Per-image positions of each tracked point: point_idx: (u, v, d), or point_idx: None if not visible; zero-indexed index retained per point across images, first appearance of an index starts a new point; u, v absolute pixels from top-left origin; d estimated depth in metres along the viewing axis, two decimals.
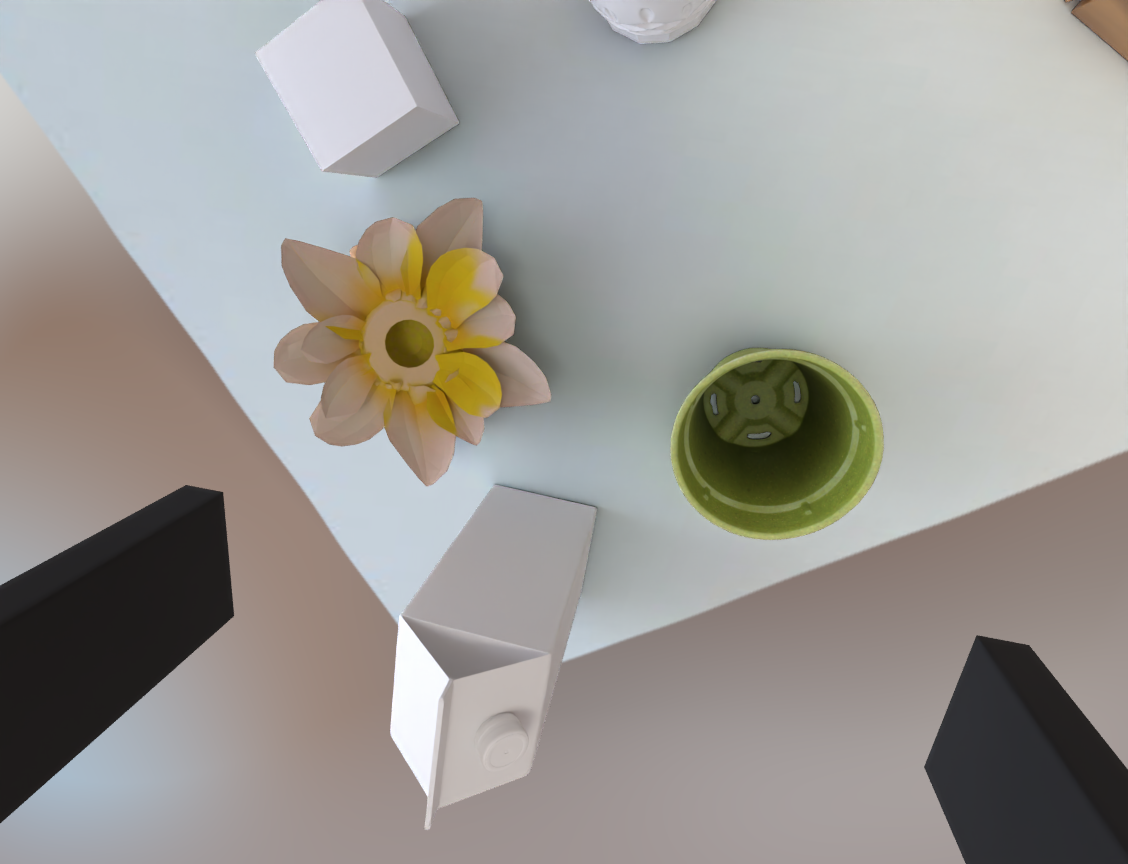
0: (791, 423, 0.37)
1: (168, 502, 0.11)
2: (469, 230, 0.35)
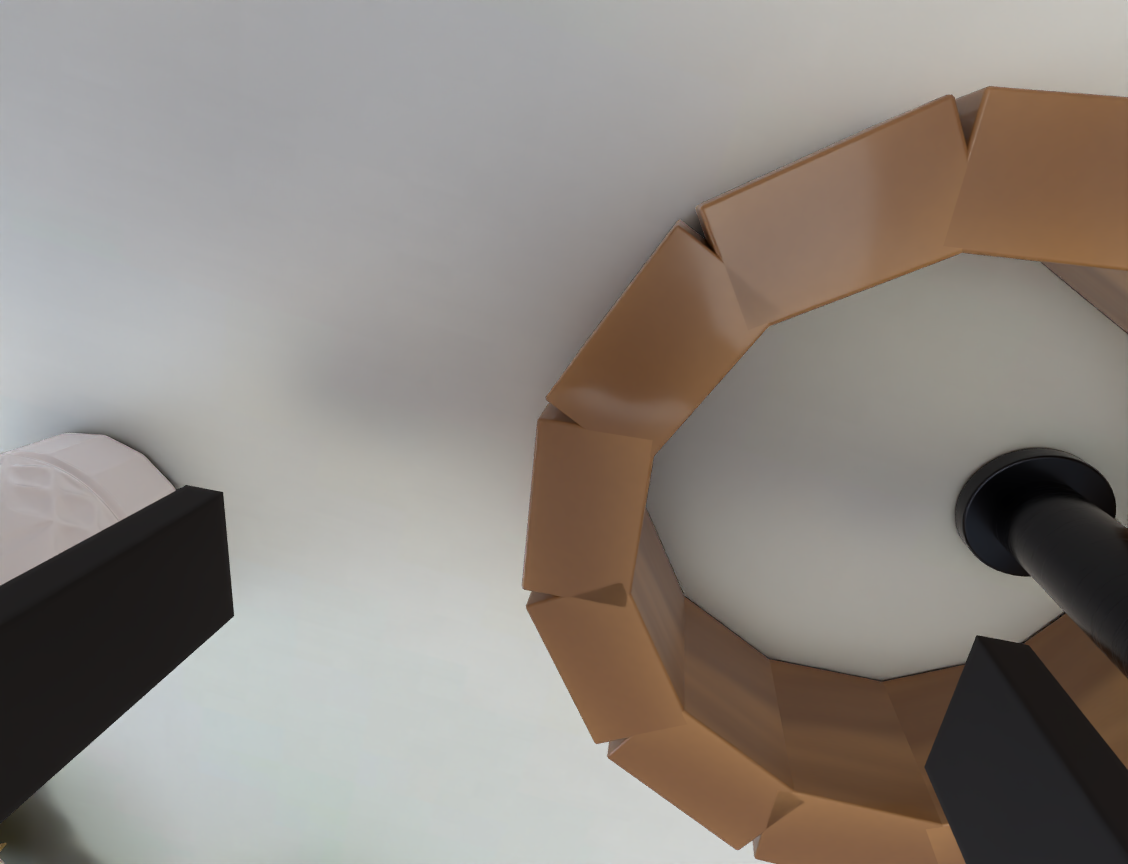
0: None
1: (167, 503, 0.11)
2: None
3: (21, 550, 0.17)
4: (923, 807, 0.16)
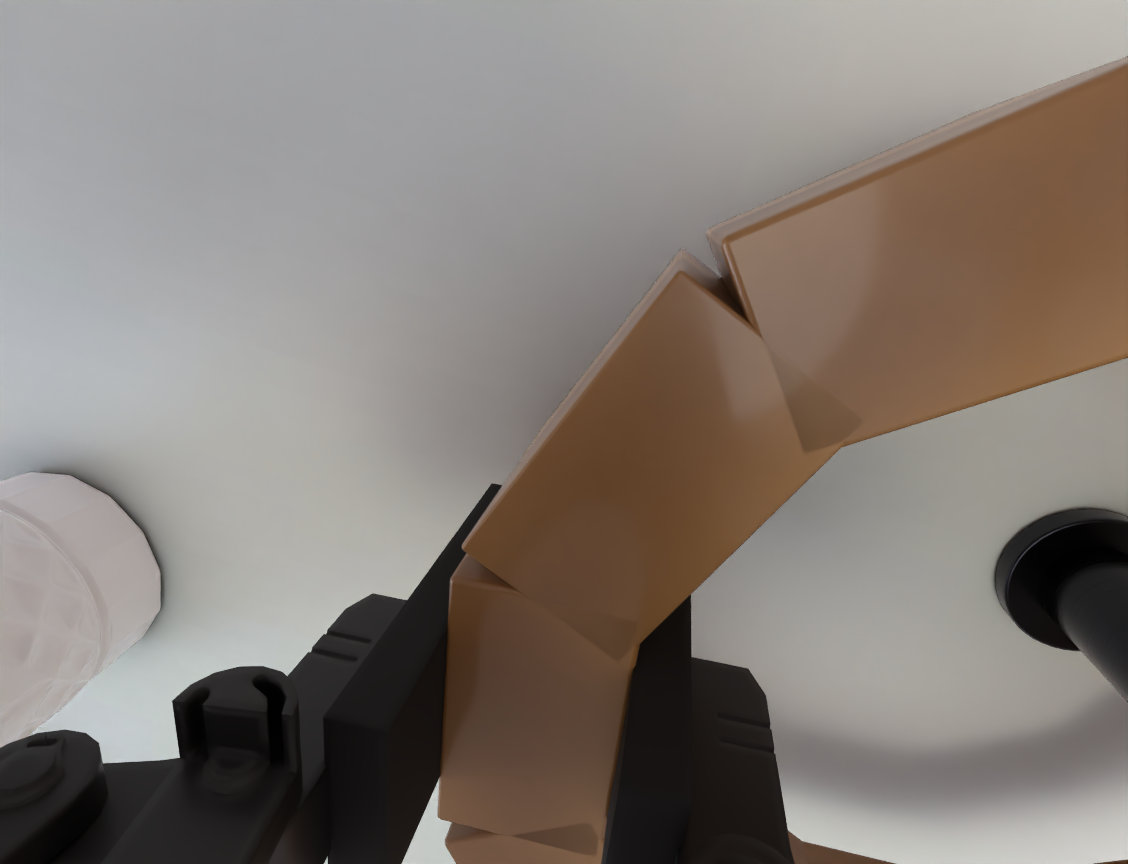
0: None
1: (492, 498, 0.12)
2: None
3: None
4: None
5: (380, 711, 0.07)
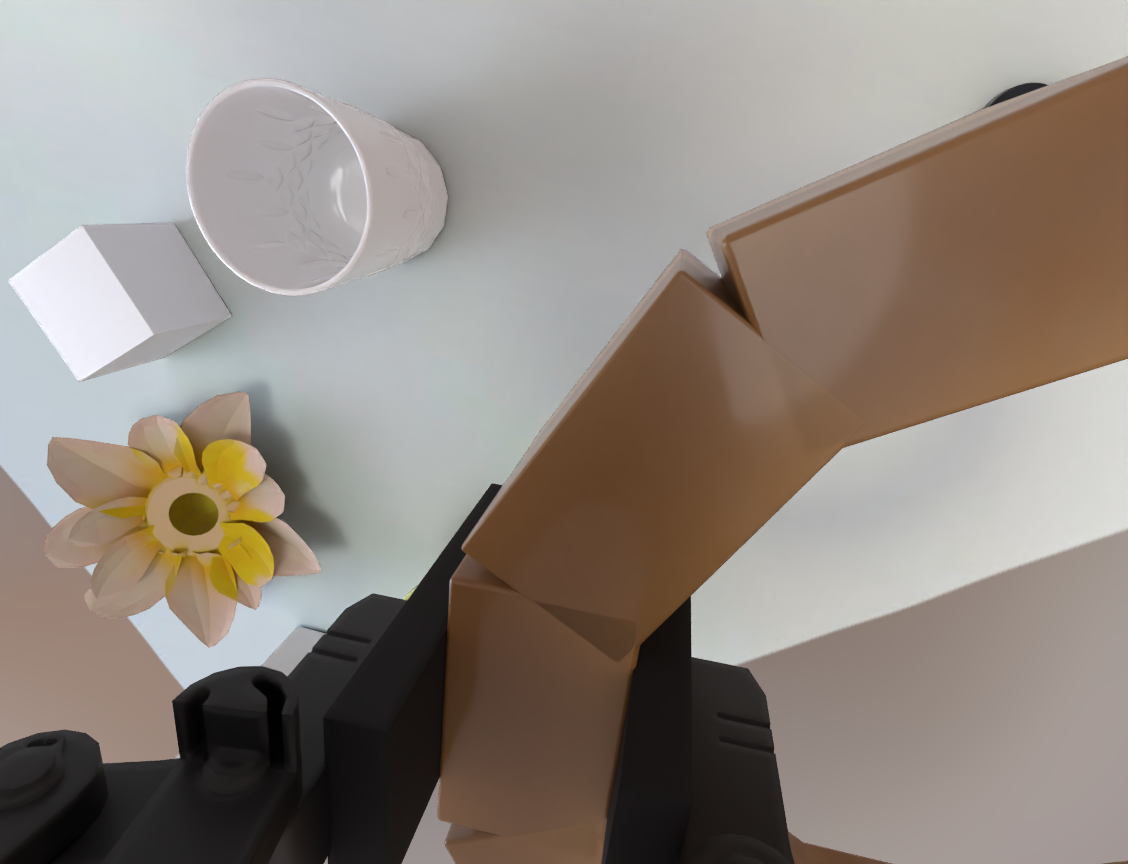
0: None
1: (492, 498, 0.12)
2: (240, 416, 0.38)
3: (396, 144, 0.27)
4: None
5: (380, 711, 0.07)
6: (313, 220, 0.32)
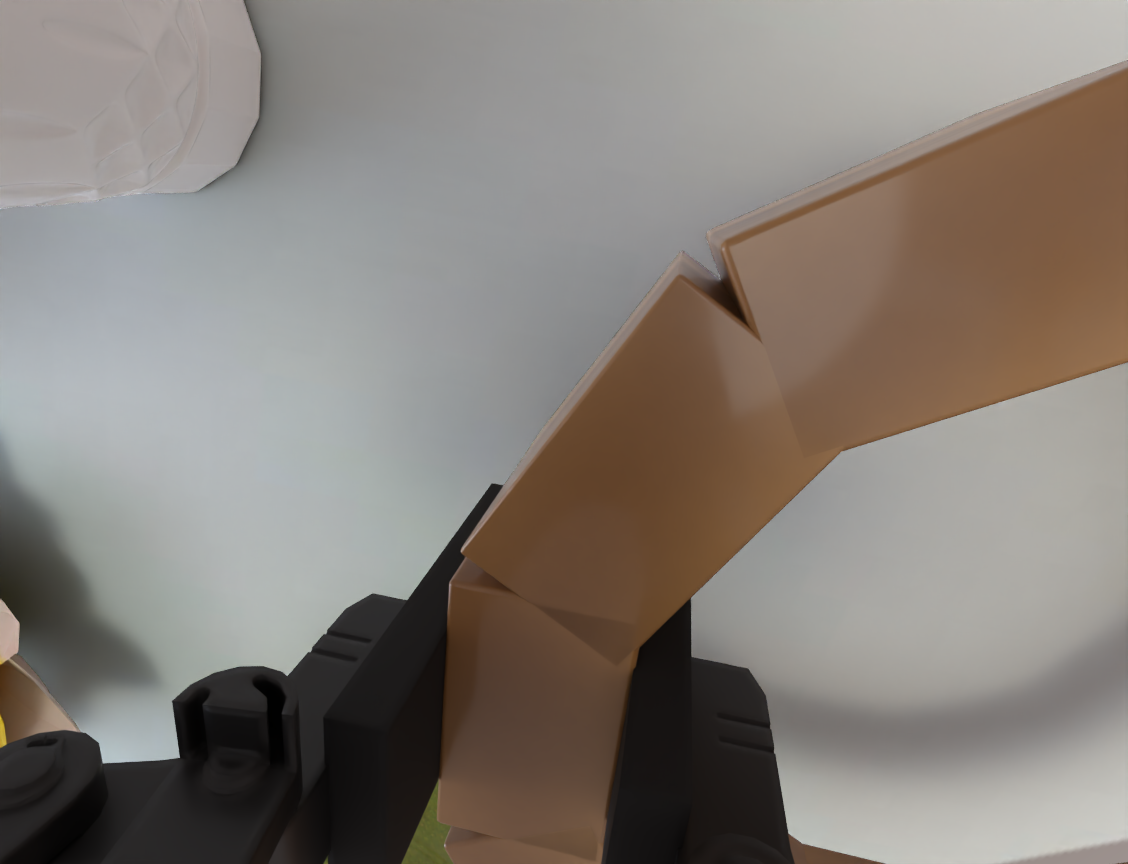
0: None
1: (492, 498, 0.12)
2: None
3: None
4: None
5: (380, 711, 0.07)
6: None
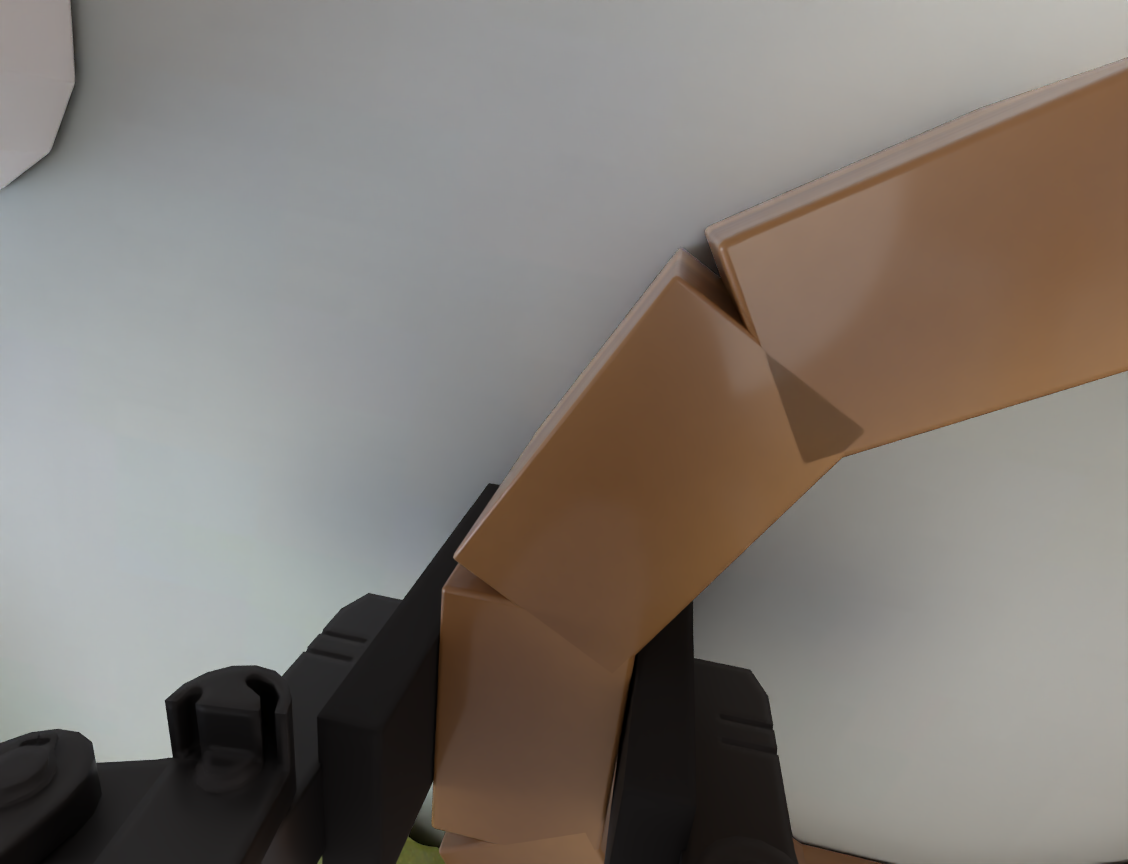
0: None
1: (489, 498, 0.12)
2: None
3: None
4: None
5: (374, 710, 0.07)
6: None
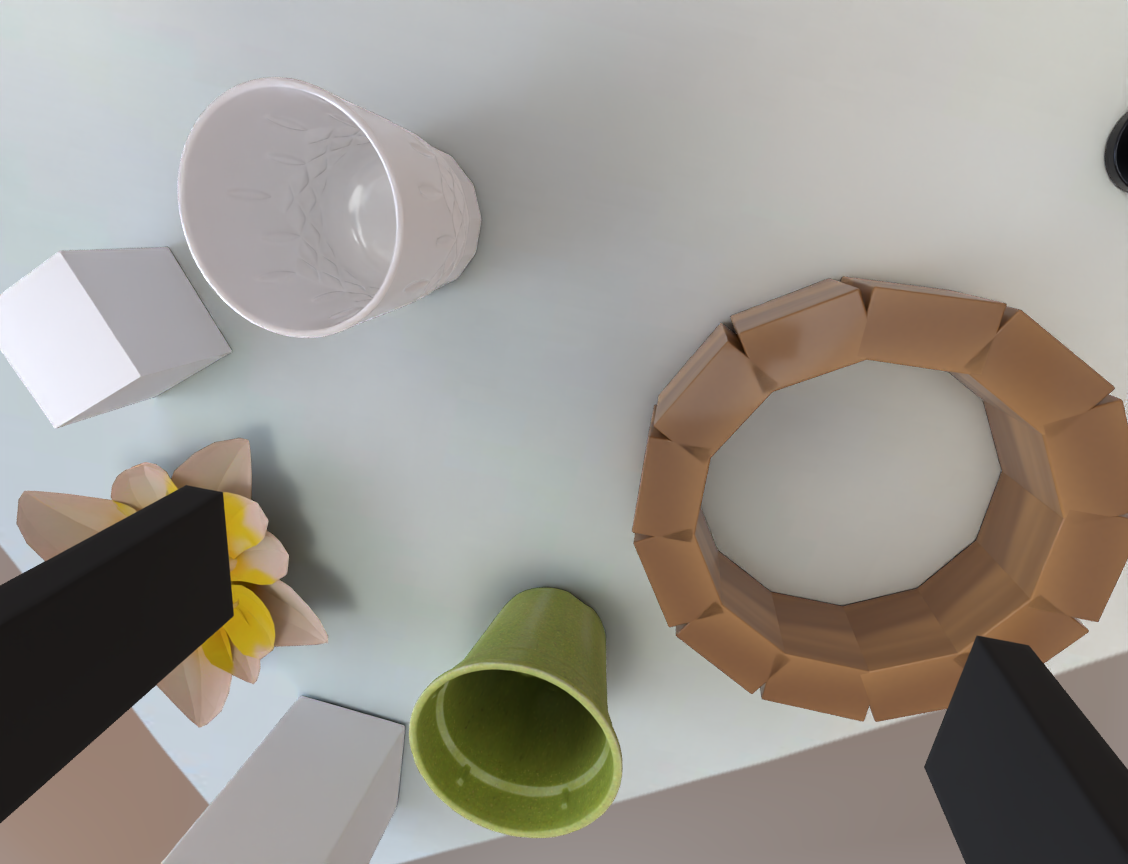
0: None
1: (168, 502, 0.11)
2: (240, 465, 0.33)
3: (428, 158, 0.23)
4: (859, 664, 0.27)
5: None
6: (326, 246, 0.28)
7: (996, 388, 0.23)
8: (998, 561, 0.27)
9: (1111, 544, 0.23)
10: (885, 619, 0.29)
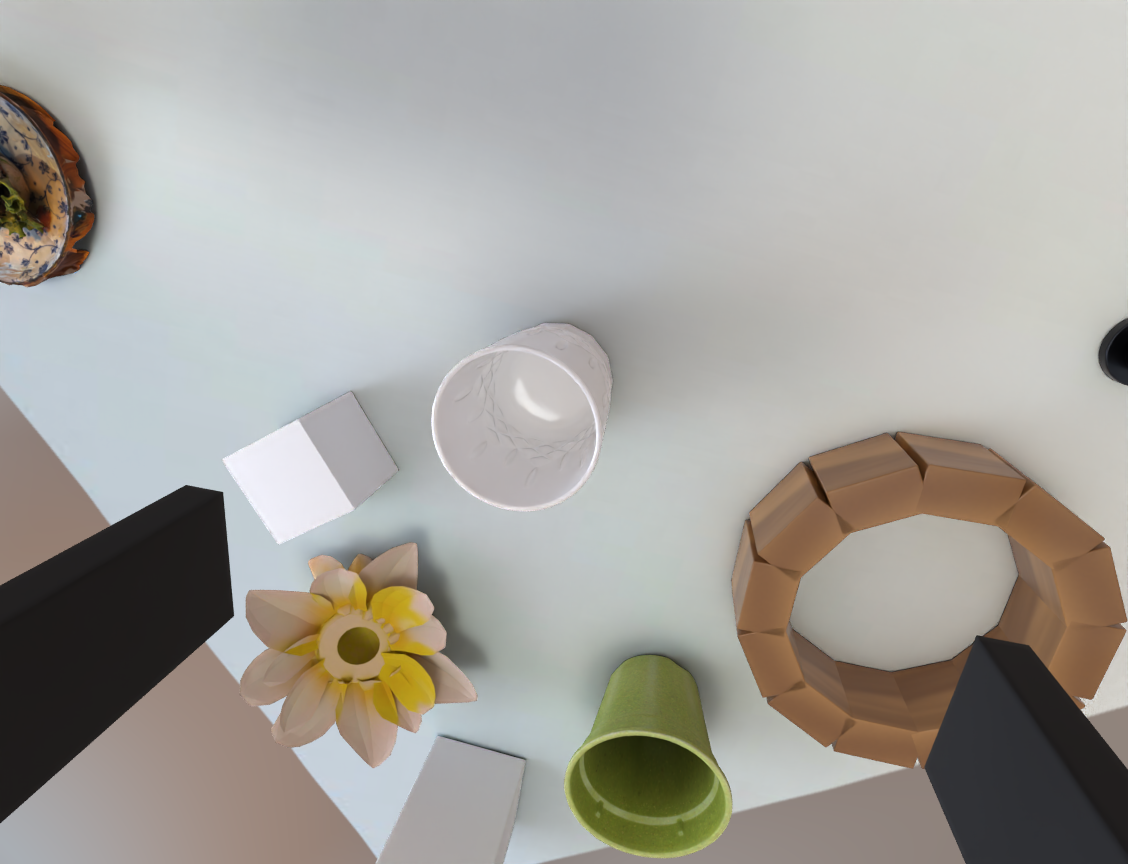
0: None
1: (168, 502, 0.11)
2: (407, 561, 0.42)
3: (596, 367, 0.31)
4: (910, 725, 0.36)
5: None
6: (498, 409, 0.36)
7: (1018, 536, 0.31)
8: None
9: (1101, 645, 0.32)
10: (927, 687, 0.38)
